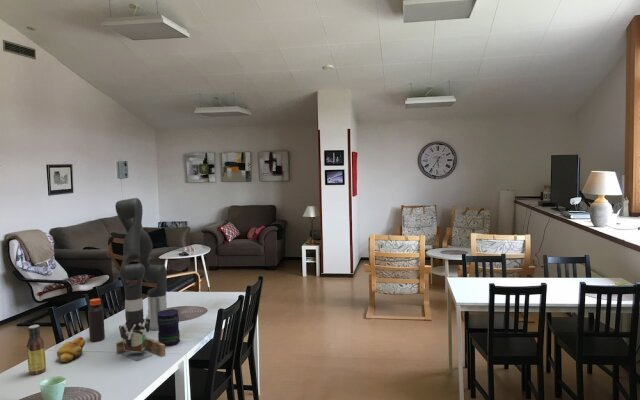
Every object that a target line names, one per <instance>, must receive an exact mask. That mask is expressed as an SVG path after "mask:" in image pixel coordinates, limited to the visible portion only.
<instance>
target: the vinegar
mask: <svg viewBox="0 0 640 400" xmlns="http://www.w3.org/2000/svg"><path fill="white" fill-rule="evenodd" d="M101 300H102V299H101V298H92V299H89V307H90V308H89V309H88V310H87V314H88V315H87V318H88V332H89V334H88V336H89V341H90V342H93V343H95V342H101V341H104V340H105V338H106V332H105V315H104V308H103V307H102V306H101V304H102V303H101V302H102V301H101Z"/></svg>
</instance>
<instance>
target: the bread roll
mask: <svg viewBox="0 0 640 400" xmlns="http://www.w3.org/2000/svg"><path fill="white" fill-rule="evenodd" d="M85 344H86V340H85V338H83V337H81V336H80V337H77V338H74V339H73V340H72V341H68V342H64V343H62V345H61V346H60V347H59V348H58V350H57V351H56V357H57V358H58V359H59V360H60V362H62V363H68V362H72V361H73V360H74V359H77V358H78V357H80V356H81V355H82V353H83V348H84V347H85Z"/></svg>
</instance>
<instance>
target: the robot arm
mask: <svg viewBox="0 0 640 400" xmlns="http://www.w3.org/2000/svg"><path fill="white" fill-rule="evenodd" d="M115 212H116V215H117V216H118V217H117V218H118V219H119V221H120V223H121V224H122V226H123V228H124V230H125V232H126V235H125V237H124V239H123V243H122V248H123V249H122V250H123V252H122V253H123V255H122V257H123V258H122V261H121V265H120V268H119V273H118V274H119V278H120V280H121V281H134V280H135V282H134V283H132V284H128V285H127V286H125V287H124V312H125V315H124V316H125V324H123V325H121V324H120V325H119V326H118V328H119V329H118V330H119V333H120V337H121V339H122V340H123V339H126V346H127V347H131V339H130V338H131V335H132V334H133V331H134V330H139V329H143V326H144V327H145V328H146V331H147V333H149V332H150V330H152V331H159V328H158V324H157V323H158V321H157V313H158V312H160V311H162V310H167V309H168V307H167V286H168V285H167V284H168V283H167V282H168V281H167V280H168V279H167V277H168V276H167V274H168V273H167V267H166V266H165V265H163V264H151V261H150V255H151V254H152V251H153V248H154V247H153V246H154V245H153V242H152V239H151V237H150V235H149V233H148V232H147V231H145V230H144V229H143V228H142V222H143V204H142V201H141V200H140V198H138V197H134V198H133V197H132V198H128V199H121V200H118V201H116V203H115ZM132 219H133V220H132ZM134 261H137V262H138V263H131V262H134ZM143 281H145V282H147V283H153V284H154V283H155V284H156V286H155V287H152V288H150V289H148V291H147V317H146V318H144V301H143V292H142V291H143V290H142V288H143ZM126 327H127V331H126V333H125V330H126ZM129 330H130V332H129Z"/></svg>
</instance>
